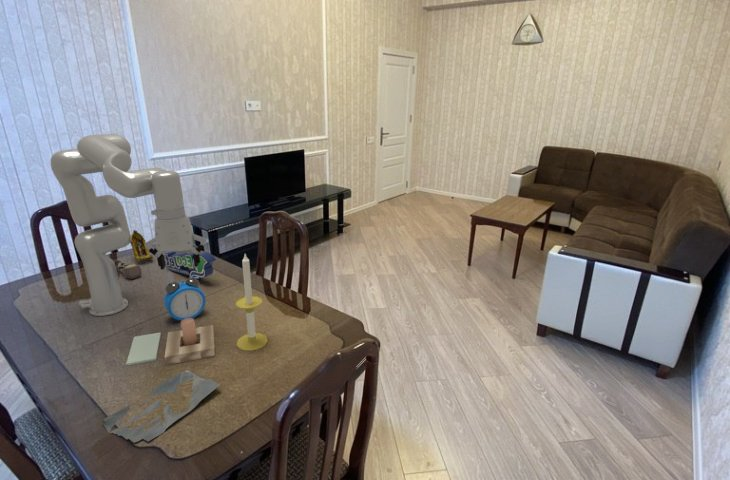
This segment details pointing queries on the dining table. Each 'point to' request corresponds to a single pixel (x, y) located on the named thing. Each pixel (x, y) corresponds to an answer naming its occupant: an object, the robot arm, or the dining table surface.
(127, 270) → the toy
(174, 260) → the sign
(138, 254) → the shrine
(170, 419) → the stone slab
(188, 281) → the alarm clock
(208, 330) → the pocket frame
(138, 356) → the mat
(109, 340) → the dining table surface
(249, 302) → the candle
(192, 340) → the peg
